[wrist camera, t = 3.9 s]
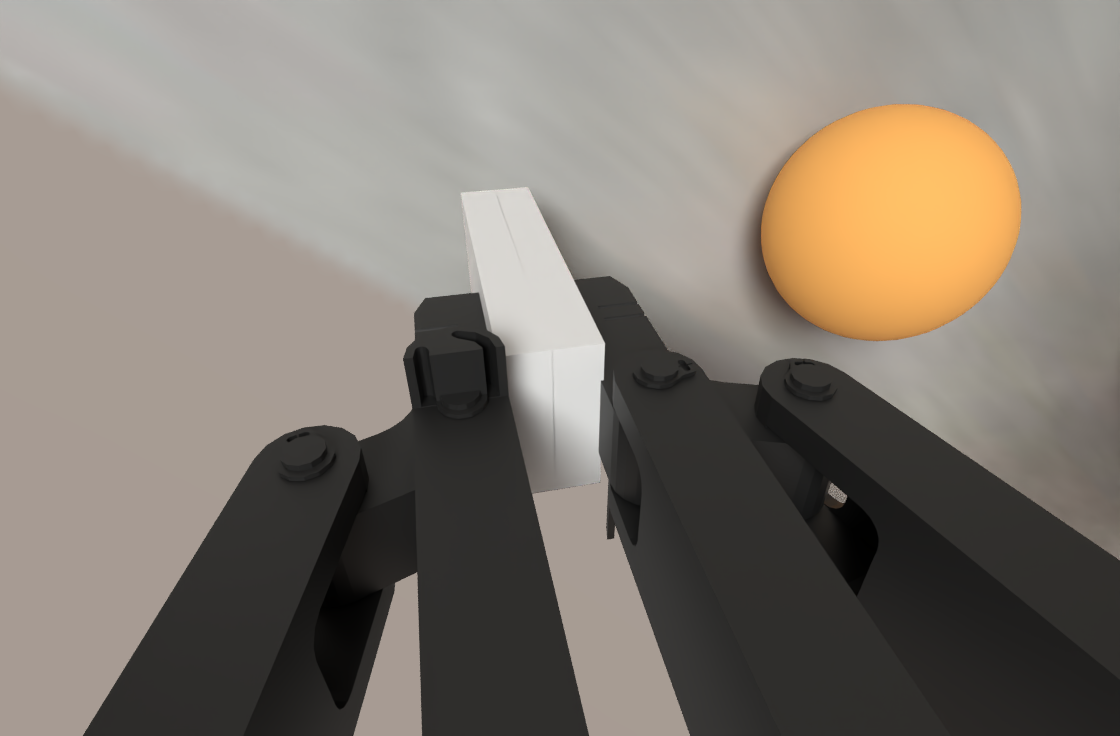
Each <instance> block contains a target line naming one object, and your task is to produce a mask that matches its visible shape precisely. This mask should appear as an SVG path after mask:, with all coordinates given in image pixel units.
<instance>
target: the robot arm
mask: <svg viewBox="0 0 1120 736" xmlns="http://www.w3.org/2000/svg"><path fill="white" fill-rule="evenodd" d="M461 200H462V210H463V219H464V228H465V238H466V247H467V256H468V266H469V275H470V284H471V293H469V294H460V295H450V296H441V297H432V298H425V299H424V301H423V302H422V303H421V305H420V306H419V307H418V309H417V310H416V312H415V313H414V322H415V341H414V342H413V343H412V344H411V345H409V346H408V347H407V349H406V352H405V355H404V358H403V361H404V366H405V371H406V376H407V382H408V387H409V392H410V397H411V403H412V410H411V412H410V413H409V414H408V415H407V416H406V417H405V418H404V419H403V420H402V421H401V422H399V423H398V424H397V425H395V426H393V427H392V428H390V429H388V430H386V431H384V432H381V433H379V434H377V435H374V436H371V437H369V438H366V439H363V440H361V441H358V440H357V439H356V437H355V435H353V434H351V433H350V432H348V431H346V430H345V429H343V428H339V427H332V426H326V425H323V426H314V427H305V428H301V429H299V430H296V431H293V432H290V433H287V434H284V435H283V436H281V437H279V438H278V439H276V440H274V441H273V442H271V443H270V444H268V445H267V446H266V447H265V448H264V449H263V450H262V451H261V452H260V454H258V455H257V456H256V458H255V459H254V460H253V462H252V463H251V465H250V466H249V468H248V470H247V471H246V473H245V475H244V476H243V478H242V479H241V481H240V483H239V484H238V486H237V488H236V489H235V491H234V492H233V494H232V496H231V497H230V499H229V500H228V502H227V504H226V505H225V507H224V508H223V510H222V512H221V513H220V515H219V517H218V518H217V520H216V521H215V523H214V525H213V527H212V528H211V529H210V531H209V533H208V534H207V536H206V538H205V539H204V541H203V542H202V544H201V546H200V547H199V549H198V551H197V552H196V554H195V555H194V557H193V559H192V560H191V562H190V563H189V565H188V567H187V568H186V570H185V572H184V573H183V575H182V576H181V578H180V580H179V581H178V583H177V584H176V586H175V588H174V589H173V591H172V592H171V594H170V596H169V597H168V599H167V601H166V602H165V604H164V606H163V607H162V609H161V610H160V612H159V613H158V615H157V617H156V618H155V620H154V622H153V623H152V625H151V626H150V628H149V630H148V631H147V633H146V635H145V636H144V638H143V639H142V641H141V643H140V644H139V646H138V648H137V649H136V651H135V652H134V654H133V656H132V657H131V659H130V661H129V662H128V664H127V665H126V667H125V669H124V670H123V672H122V673H121V675H120V677H119V678H118V680H117V681H116V683H115V685H114V686H113V688H112V689H111V691H110V693H109V694H108V696H107V698H106V699H105V701H104V702H103V704H102V706H101V707H100V709H99V711H98V712H97V714H96V715H95V717H94V718H93V720H92V722H91V723H90V725H89V727H88V728H87V730H86V731H85V733H84V735H83V736H353V735H354V731H355V727H356V724H357V721H358V717H359V713H360V710H361V707H362V703H363V700H364V696H365V693H366V689H367V685H368V682H369V679H370V675H371V672H372V668H373V665H374V661H375V658H376V654H377V650H378V647H379V643H380V640H381V636H382V633H383V629H384V626H385V622H386V619H387V615H388V612H389V608H390V605H391V601H392V598H393V594H394V588H395V582H397V581H400V580H401V579H404V578H406V577H408V576H410V575H412V574H414V573H416V572H417V574H418V606H419V607H418V608H419V641H420V672H421V673H420V674H421V675H420V677H421V708H422V709H421V711H422V736H589V734H588V729H587V726H586V721H585V717H584V713H583V708H582V704H581V700H580V695H579V691H578V687H577V683H576V679H575V674H574V670H573V666H572V662H571V657H570V653H569V649H568V645H567V641H566V636H565V632H564V628H563V624H562V619H561V615H560V611H559V607H558V602H557V598H556V594H555V589H554V585H553V581H552V577H551V573H550V568H549V564H548V560H547V556H546V551H545V547H544V543H543V539H542V534H541V530H540V526H539V522H538V518H537V514H536V509H535V505H534V501H533V497H532V494H533V493H539V492H545V491H550V490H558V489H563V488H570V487H576V486H582V485H588V484H594V483H600V472H601V460H602V463H603V465H604V468H605V471H606V474H607V476H608V479H609V483H608V484H609V485H608V505H607V526H606V528H607V539H612V538H614V530H615V526H616V528H617V531H618V534H619V537H620V540H621V542H622V545H623V548H624V551H625V554H626V556H627V559H628V562H629V565H630V568H631V570H632V573H633V576H634V579H635V582H636V584H637V587H638V590H639V593H640V596H641V598H642V601H643V604H644V607H645V610H646V613H647V615H648V618H649V621H650V624H651V627H652V629H653V632H654V635H655V638H656V641H657V643H658V646H659V649H660V652H661V654H662V657H663V660H664V663H665V666H666V669H667V671H668V674H669V677H670V680H671V682H672V686H673V688H674V691H675V694H676V697H677V700H678V702H679V705H680V708H681V711H682V714H683V716H684V719H685V722H686V725H687V727H688V730H689V733H690V736H1120V560H1118V559H1117V558H1115V557H1114V556H1112V555H1111V554H1109V553H1108V552H1106V551H1105V550H1104V549H1102V548H1101V547H1099V546H1098V545H1096V544H1095V543H1093V542H1092V541H1090V540H1089V539H1087V538H1086V537H1084V536H1083V535H1082V534H1080V533H1079V532H1077V531H1076V530H1074V529H1073V528H1071V527H1070V526H1068V525H1067V524H1065V523H1064V522H1063V521H1061V520H1060V519H1058V518H1057V517H1055V516H1054V515H1052V514H1051V513H1049V512H1048V511H1046V510H1045V509H1043V508H1042V507H1041V506H1039V505H1038V504H1036V503H1035V502H1033V501H1032V500H1030V499H1029V498H1027V497H1026V496H1024V495H1023V494H1021V493H1020V492H1019V491H1017V490H1016V489H1014V488H1013V487H1011V486H1010V485H1008V484H1007V483H1005V482H1004V481H1002V480H1001V479H1000V478H998V477H997V476H995V475H994V474H992V473H991V472H989V471H988V470H986V469H985V468H983V467H982V466H980V465H979V464H978V463H976V462H975V461H973V460H972V459H970V458H969V457H967V456H966V455H964V454H963V453H961V452H960V451H959V450H957V449H956V448H954V447H953V446H951V445H950V444H948V443H947V442H945V441H944V440H942V439H941V438H939V437H938V436H937V435H935V434H934V433H932V432H931V431H929V430H928V429H926V428H925V427H923V426H922V425H920V424H919V423H918V422H916V421H915V420H913V419H912V418H910V417H909V416H907V415H906V414H904V413H903V412H901V411H900V410H898V409H897V408H896V407H894V406H893V405H891V404H890V403H888V402H887V401H885V400H884V399H882V398H881V397H879V396H878V395H876V394H875V393H874V392H872V391H871V390H869V389H868V388H866V387H865V386H863V385H862V384H860V383H859V382H857V381H856V380H855V379H853V378H852V377H850V376H849V375H847V374H846V373H844V372H842V371H840V370H838V369H837V368H835V367H833V366H831V365H829V364H825V363H822V362H818V361H815V360H811V359H797V358H791V359H785V360H779V361H776V362H774V363H772V364H770V365H768V366H766V367H765V369H764V371H763V373H762V374H761V377H760V382H759V385H750V384H736V383H724V382H718V381H711V380H709V379H708V377H707V376H706V374H705V373H704V371H703V370H702V369H701V368H700V367H699V366H698V365H697V364H696V363H695V362H694V361H693V360H692V359H689V358H687V357H685V356H683V355H681V354H679V353H675V352H670V351H668V350H667V348H666V347H665V345H664V344H663V342H662V341H661V339H660V337H659V336H658V334H657V333H656V331H655V329H654V328H653V326H652V325H651V323H650V322H649V320H648V318H647V317H646V316H644V312H643V310H642V309H641V307H640V306H639V304H637V301H636V299H635V298H634V296H633V295H632V293H631V292H630V290H629V288H628V287H626V286H625V285H623V284H622V283H620V282H618V281H617V280H615V279H613V278H612V277H610V276H607V277H598V278H589V279H580V280H573V277H572V275H571V273H570V271H569V269H568V267H567V265H566V263H565V261H564V259H563V257H562V255H561V253H560V251H559V249H558V247H557V245H556V243H555V241H554V239H553V237H552V235H551V233H550V231H549V229H548V227H547V225H546V223H545V221H544V219H543V217H542V215H541V212H540V210H539V208H538V206H537V204H536V202H535V200H534V198H533V196H532V194H531V192H530V190H529V188H528V187H523V188H511V189H499V190H487V191H475V192H463V193H461ZM831 482H832V483H833V484H834V485H835V486H837V487H838V488H839V489H840V490H841V491H842V492H844V493H845V494H846V495H847V499H846V502H845V503H840V502H839V501H837V500H836V499H834V498H833V497H832V496H831V495H829V494H828V490H829V487H830V484H831Z"/></svg>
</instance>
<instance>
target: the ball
mask: <svg viewBox="0 0 1120 736" xmlns="http://www.w3.org/2000/svg"><path fill="white" fill-rule="evenodd" d="M1020 223H1021V198H1020V192H1019V187H1018V183H1017V179H1016V176H1015V174H1014V171H1013V169H1012V167H1011V165H1010V163H1009V161H1008V159H1007V157H1006V156H1005V154H1004V153H1003V151H1002V150H1001V148H1000V147H999V146H998V145H997V144H996V143H995V141H994V140H993V139H992V138H991V137H990V136H989V135H988V134H987V133H986V132H984V131H983V130H982V129H980V128H979V127H978V126H976V125H975V124H973V123H971V122H970V121H968V120H967V119H965V118H963V117H960V116H958V115H956V114H954V113H951V112H948V111H946V110H943V109H939V108H934V107H929V106H924V105H910V104H893V105H886V106H879V107H874V108H869V109H865V110H862V111H858V112H856V113H853V114H851V115H848V116H846V117H844V118H841V119H839V120H837V121H835V122H833V123H831V124H830V125H828V126H826V127H824V128H823V129H822V130H820V131H819V132H817V133H816V134H814V135H813V136H812V137H811V138H810V139H808V140H807V141H806V142H805V143H804V144H803V145H802V146H801V147H800V148H799V149H798V150H797V151H796V152H795V153H794V154H793V155H792V156H791V157H790V159H789V160H788V161H787V162H786V164H785V165H784V166H783V168H782V169H781V171H780V173H779V174H778V176H777V177H776V179H775V181H774V183H773V185H772V188H771V190H770V192H769V195H768V198H767V201H766V203H765V207H764V211H763V216H762V224H761V246H762V252H763V257H764V261H765V265H766V268H767V271H768V274H769V276H770V278H771V280H772V281H773V283H774V285H775V287H776V289H777V291H778V292H779V293H780V295H781V296H782V297H783V299H784V300H785V301H786V302H787V303H788V304H789V306H790V307H791V308H792V309H794V310H795V311H796V312H797V313H798V314H799V315H801V316H802V317H803V318H804V319H806V320H807V321H809V322H811V323H812V324H814V325H816V326H818V327H820V328H822V329H823V330H826V331H828V332H831V333H834V334H837V335H840V336H843V337H848V338H852V339H859V340H868V341H886V340H898V339H903V338H908V337H913V336H917V335H920V334H923V333H927V332H929V331H932V330H934V329H937V328H939V327H941V326H943V325H945V324H947V323H949V322H951V321H953V320H954V319H956V318H958V317H959V316H961V315H962V314H964V313H965V312H966V311H968V310H969V309H971V308H972V307H973V306H974V305H975V304H976V303H978V302H979V301H980V300H981V299H982V298H983V297H984V296H985V295H986V294H987V293H988V292H989V290H990V289H991V288H992V287H993V286H994V284H995V283H996V282H997V280H998V279H999V278H1000V276H1001V275H1002V273H1003V271H1004V270H1005V268H1006V266H1007V264H1008V262H1009V260H1010V258H1011V256H1012V253H1013V250H1014V248H1015V245H1016V242H1017V239H1018V235H1019V230H1020Z"/></svg>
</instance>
